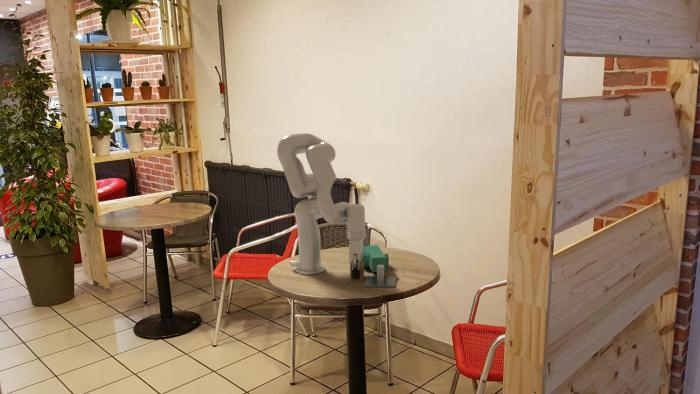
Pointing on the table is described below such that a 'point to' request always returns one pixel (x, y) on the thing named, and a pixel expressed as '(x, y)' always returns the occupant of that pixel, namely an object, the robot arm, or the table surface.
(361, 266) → the tan cardboard carton
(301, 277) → the table surface
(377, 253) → the toy
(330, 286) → the table surface
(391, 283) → the grey base plate
